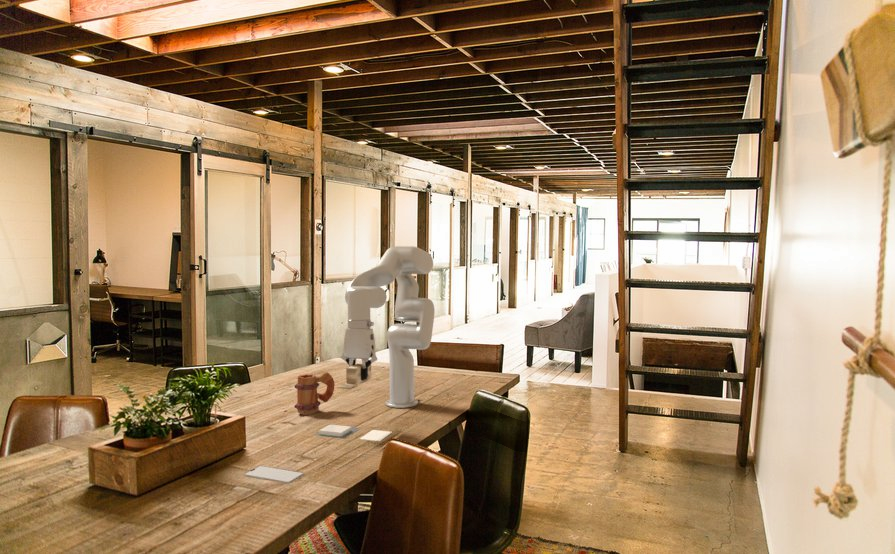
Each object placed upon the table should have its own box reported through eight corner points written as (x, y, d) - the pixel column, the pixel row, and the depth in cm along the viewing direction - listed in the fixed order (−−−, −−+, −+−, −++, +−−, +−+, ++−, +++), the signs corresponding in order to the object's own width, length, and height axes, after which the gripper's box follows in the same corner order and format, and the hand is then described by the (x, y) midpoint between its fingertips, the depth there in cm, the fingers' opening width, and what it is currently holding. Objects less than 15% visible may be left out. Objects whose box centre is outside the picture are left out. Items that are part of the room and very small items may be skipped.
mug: (294, 417, 222) (294, 376, 221) (294, 411, 229) (293, 372, 229) (335, 414, 225) (335, 374, 225) (333, 409, 233) (333, 370, 233)
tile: (329, 424, 205) (319, 430, 199) (351, 426, 203) (341, 432, 196) (329, 428, 205) (319, 435, 199) (351, 431, 203) (341, 437, 196)
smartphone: (288, 482, 160) (242, 474, 165) (288, 485, 160) (242, 476, 165) (305, 472, 167) (260, 465, 172) (305, 475, 167) (260, 467, 172)
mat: (332, 426, 210) (332, 424, 210) (361, 429, 207) (361, 427, 207) (314, 436, 199) (314, 435, 199) (344, 440, 195) (344, 438, 195)
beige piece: (361, 378, 212) (360, 361, 212) (373, 379, 211) (373, 362, 210) (336, 389, 197) (336, 370, 196) (350, 390, 195) (350, 371, 195)
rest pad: (372, 432, 204) (372, 429, 204) (392, 434, 202) (392, 431, 202) (359, 441, 194) (359, 438, 194) (379, 443, 192) (379, 440, 192)
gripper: (386, 324, 206) (386, 378, 206) (343, 322, 211) (343, 375, 212) (376, 327, 199) (376, 383, 199) (331, 324, 204) (332, 379, 205)
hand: (359, 378), depth 206 cm, fingers closed on beige piece, 3 cm apart
